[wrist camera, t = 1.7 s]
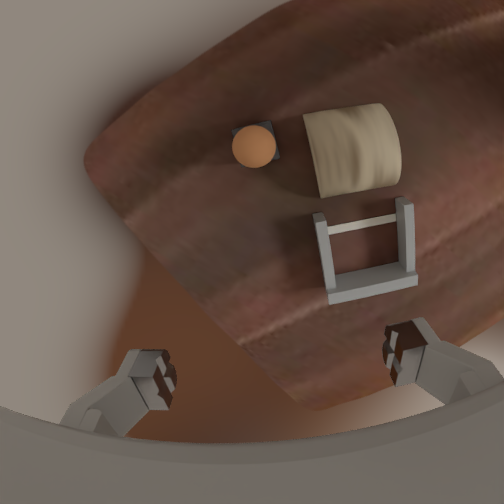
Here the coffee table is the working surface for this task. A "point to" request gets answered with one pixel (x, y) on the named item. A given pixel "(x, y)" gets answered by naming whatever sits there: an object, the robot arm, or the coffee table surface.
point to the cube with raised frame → (267, 126)
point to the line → (361, 224)
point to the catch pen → (374, 277)
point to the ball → (254, 146)
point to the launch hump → (353, 149)
